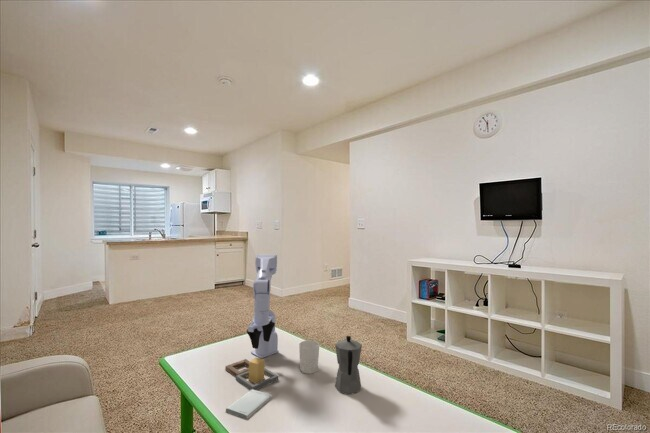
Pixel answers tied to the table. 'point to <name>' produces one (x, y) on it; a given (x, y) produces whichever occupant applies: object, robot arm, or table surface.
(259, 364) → the peg
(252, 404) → the hard drive
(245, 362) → the socket block
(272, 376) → the gray square frame
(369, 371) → the table surface
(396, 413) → the table surface
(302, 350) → the white cup
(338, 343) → the coffeepot
